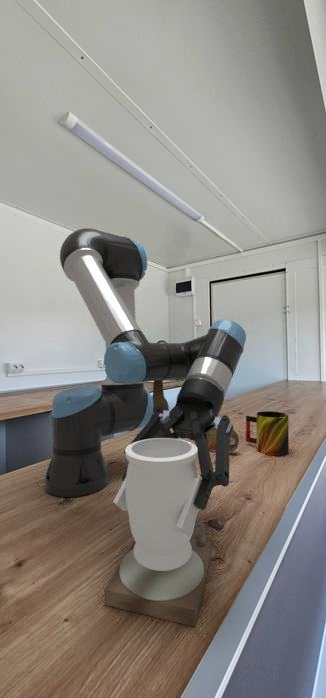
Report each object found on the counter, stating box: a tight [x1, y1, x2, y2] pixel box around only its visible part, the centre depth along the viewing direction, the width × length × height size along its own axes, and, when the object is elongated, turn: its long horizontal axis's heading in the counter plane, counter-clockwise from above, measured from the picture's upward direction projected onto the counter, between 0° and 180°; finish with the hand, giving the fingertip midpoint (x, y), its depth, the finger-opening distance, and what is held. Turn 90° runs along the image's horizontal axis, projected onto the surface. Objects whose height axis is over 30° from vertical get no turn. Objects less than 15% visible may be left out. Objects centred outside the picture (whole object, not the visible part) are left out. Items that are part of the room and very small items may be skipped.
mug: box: [245, 410, 290, 458], centre depth 103 cm, size 10×14×12 cm
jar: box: [124, 438, 199, 571], centre depth 45 cm, size 11×10×15 cm
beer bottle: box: [149, 380, 170, 421], centre depth 114 cm, size 8×8×24 cm
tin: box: [194, 426, 240, 455], centre depth 103 cm, size 15×3×8 cm, turn 56°
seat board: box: [103, 522, 212, 628], centre depth 47 cm, size 12×14×5 cm
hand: (149, 518), depth 43 cm, fingers closed on jar, 10 cm apart
